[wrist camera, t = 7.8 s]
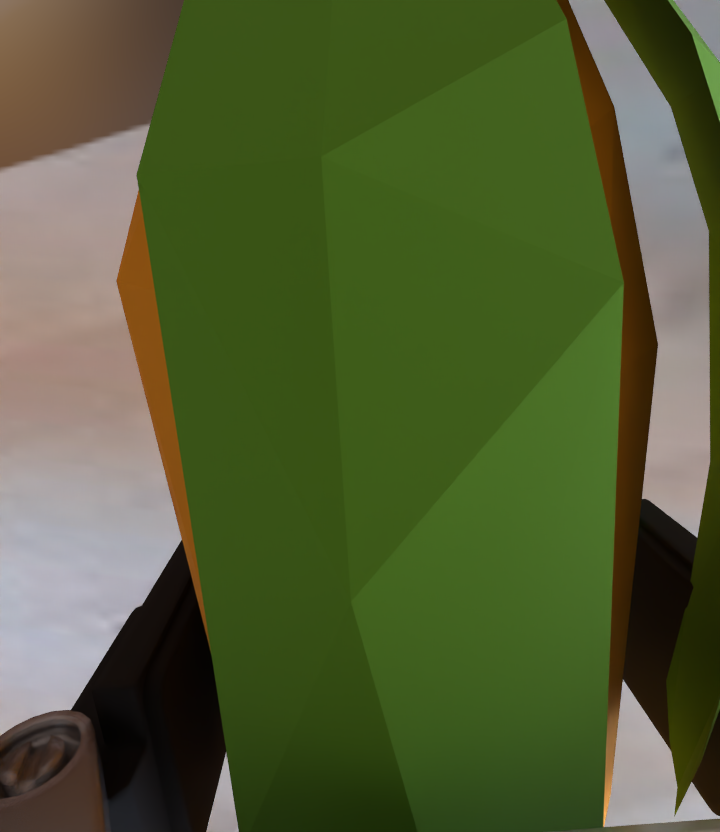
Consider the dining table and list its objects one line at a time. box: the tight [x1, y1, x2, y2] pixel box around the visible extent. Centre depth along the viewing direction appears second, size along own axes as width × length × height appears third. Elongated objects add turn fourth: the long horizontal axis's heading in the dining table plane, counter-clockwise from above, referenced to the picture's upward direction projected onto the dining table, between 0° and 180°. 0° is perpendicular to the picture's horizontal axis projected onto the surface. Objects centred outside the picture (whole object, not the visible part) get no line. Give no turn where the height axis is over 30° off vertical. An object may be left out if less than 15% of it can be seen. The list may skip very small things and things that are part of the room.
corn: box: [117, 0, 720, 832], centre depth 8 cm, size 7×8×20 cm
